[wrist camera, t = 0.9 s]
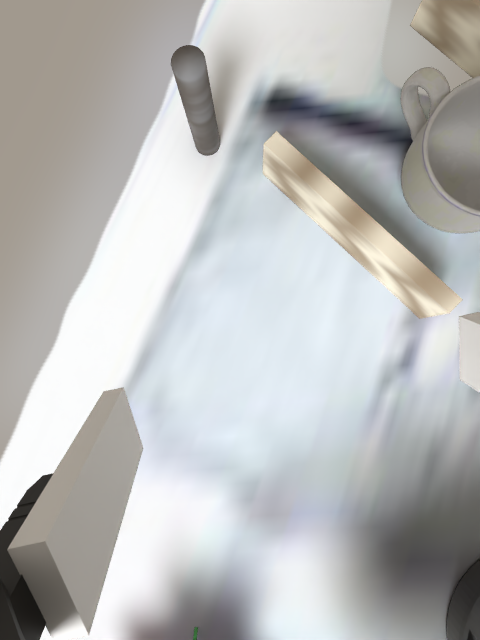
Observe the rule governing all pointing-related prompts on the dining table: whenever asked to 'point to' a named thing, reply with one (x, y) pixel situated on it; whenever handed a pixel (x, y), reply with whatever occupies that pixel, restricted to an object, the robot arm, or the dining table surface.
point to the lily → (195, 633)
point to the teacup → (443, 152)
